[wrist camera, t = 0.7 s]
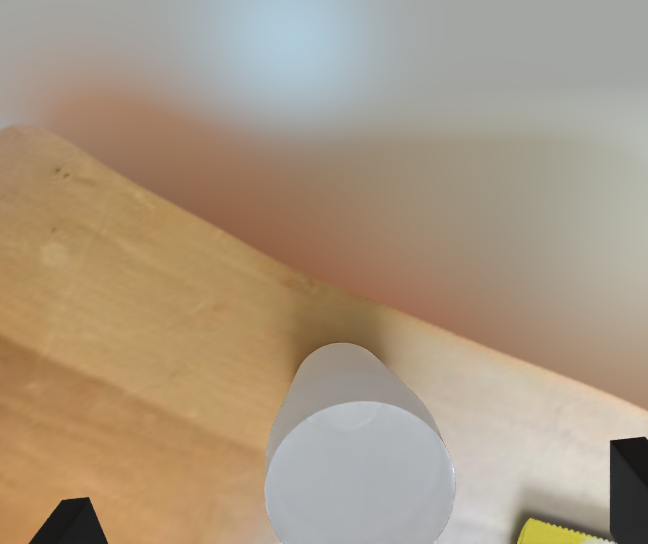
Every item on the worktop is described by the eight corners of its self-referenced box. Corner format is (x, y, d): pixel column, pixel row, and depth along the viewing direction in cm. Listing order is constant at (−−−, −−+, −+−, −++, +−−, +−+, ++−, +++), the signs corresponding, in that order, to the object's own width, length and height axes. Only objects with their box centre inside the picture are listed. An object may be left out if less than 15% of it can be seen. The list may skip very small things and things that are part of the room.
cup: (250, 394, 32) (219, 505, 21) (334, 299, 32) (352, 356, 20) (346, 469, 34) (368, 615, 22) (429, 379, 33) (500, 479, 21)
